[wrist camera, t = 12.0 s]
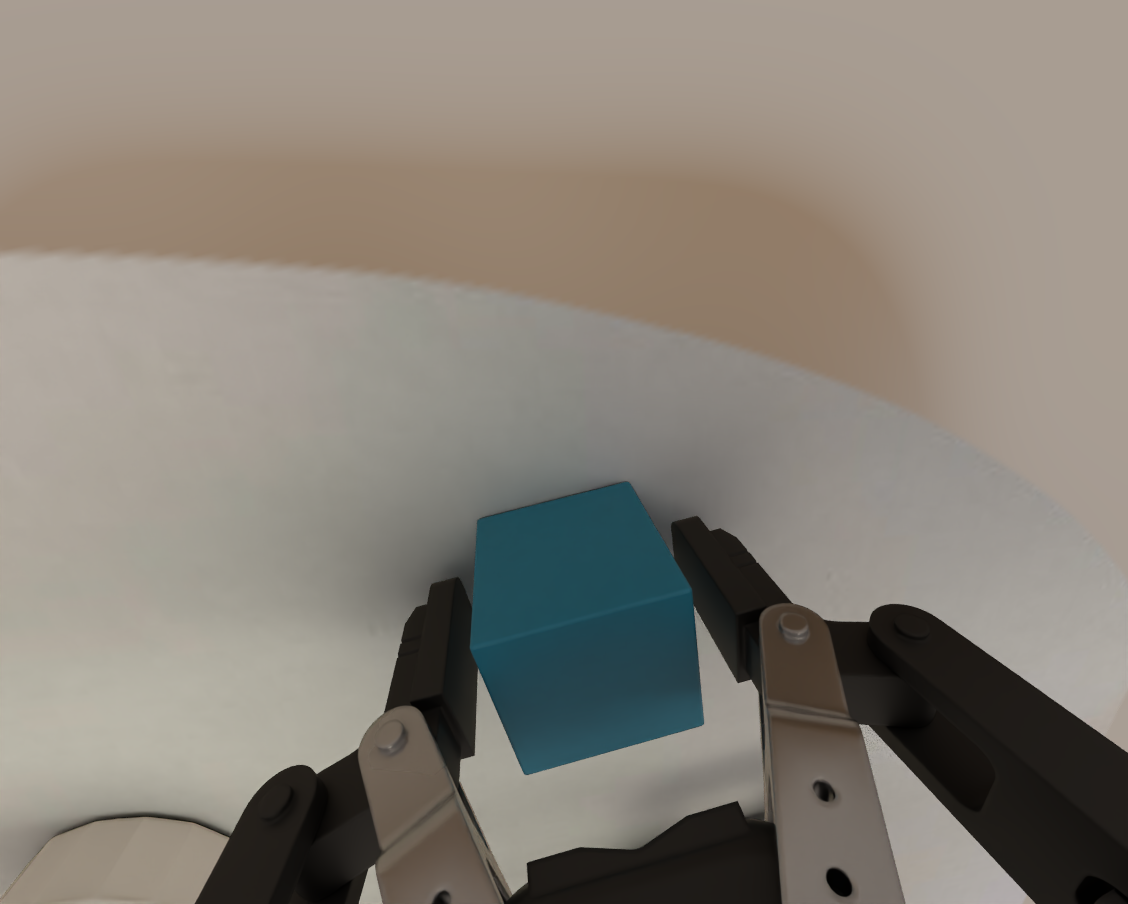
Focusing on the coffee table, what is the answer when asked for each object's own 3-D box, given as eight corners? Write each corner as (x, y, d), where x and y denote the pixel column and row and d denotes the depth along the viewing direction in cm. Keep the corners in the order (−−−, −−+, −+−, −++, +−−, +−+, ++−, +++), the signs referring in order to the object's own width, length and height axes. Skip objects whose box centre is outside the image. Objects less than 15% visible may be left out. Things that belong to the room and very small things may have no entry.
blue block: (628, 479, 12) (693, 588, 8) (646, 594, 14) (706, 726, 10) (476, 518, 12) (467, 649, 8) (515, 628, 14) (524, 778, 10)
